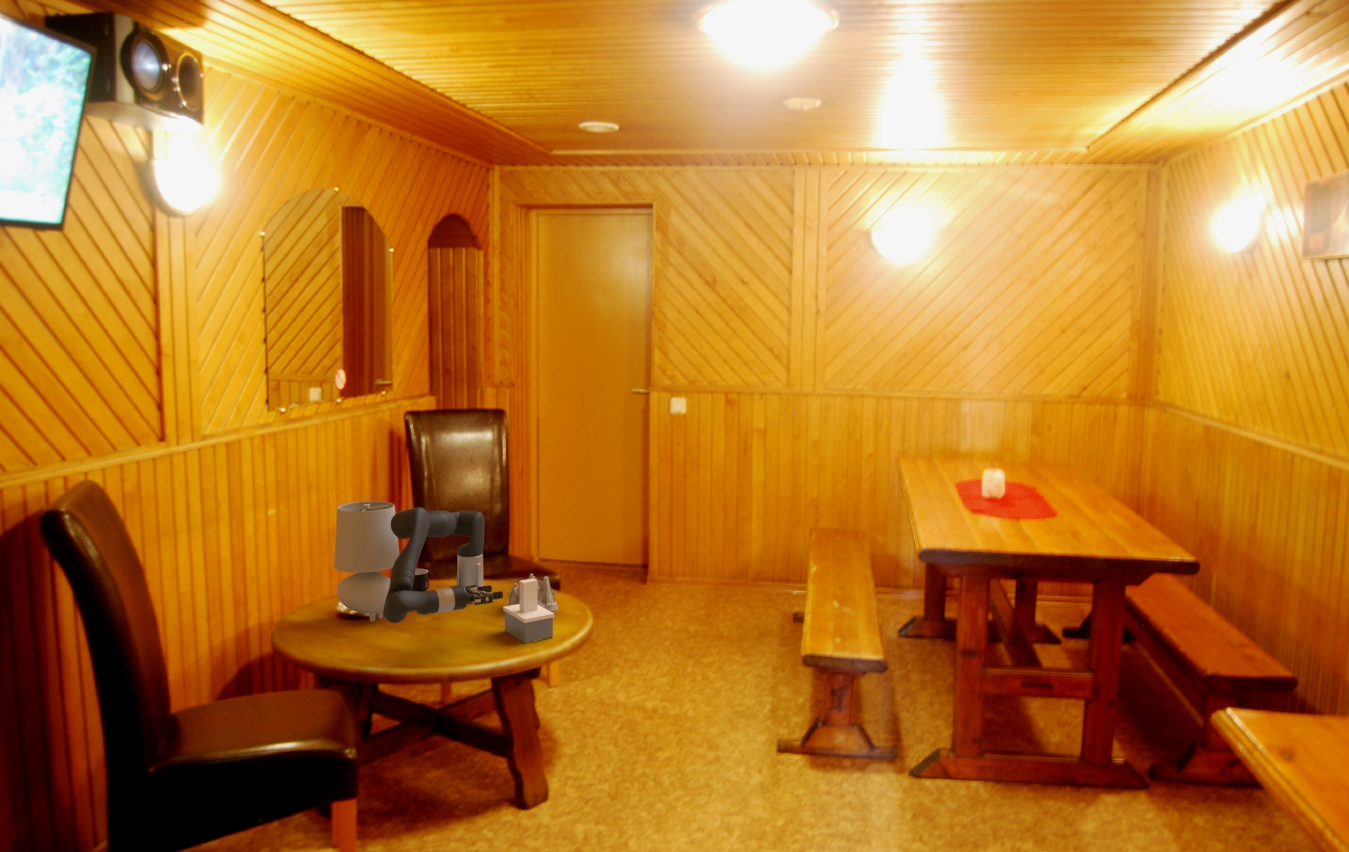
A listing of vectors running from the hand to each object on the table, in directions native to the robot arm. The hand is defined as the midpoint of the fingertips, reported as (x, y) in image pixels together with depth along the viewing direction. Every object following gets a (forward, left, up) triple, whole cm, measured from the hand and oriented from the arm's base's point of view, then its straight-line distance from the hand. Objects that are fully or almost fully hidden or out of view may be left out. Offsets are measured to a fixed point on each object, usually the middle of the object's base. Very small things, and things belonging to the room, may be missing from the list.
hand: (496, 591), depth 302 cm
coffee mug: (-58, +5, -17) cm, 61 cm away
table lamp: (-50, -19, -17) cm, 56 cm away
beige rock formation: (-19, +29, -17) cm, 39 cm away
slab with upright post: (+2, +11, -11) cm, 16 cm away
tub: (+2, +11, -16) cm, 20 cm away
